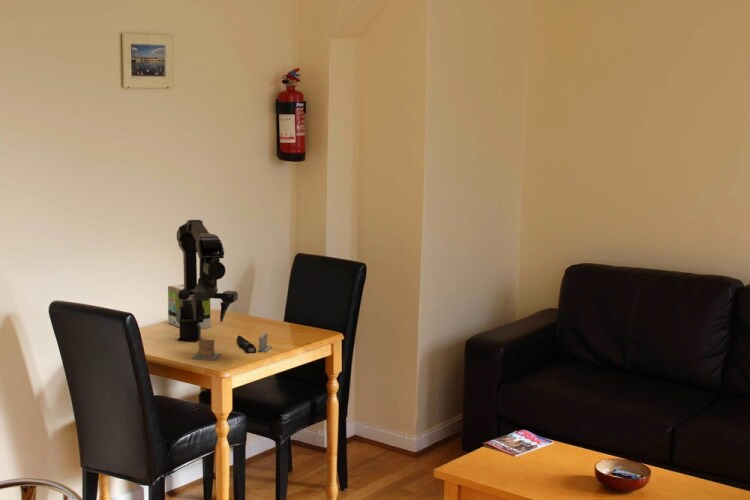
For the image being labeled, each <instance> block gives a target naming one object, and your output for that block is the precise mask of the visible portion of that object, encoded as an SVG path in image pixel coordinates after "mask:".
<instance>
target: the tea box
mask: <svg viewBox="0 0 750 500" xmlns="http://www.w3.org/2000/svg"><path fill="white" fill-rule="evenodd" d="M182 289H184V283H183V284H177V285H176V284H175V285H168V286H167V319H168V320H167V321H168V322H167V323H168V324H171V325H173V326H175V327H178V328H180V324H179V323H178V322H177V321H176V314H177V311H178V308H179V307H180V301H181V299H178V292H179V291H180V290H182ZM202 306H203V307H204V309H205V312H204V319H203V323H201V322H200V323H199V326H201V330H203V329H209V328H211V298H209V300H208V301H203V300H202Z"/></svg>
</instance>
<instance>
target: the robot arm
mask: <svg viewBox="0 0 750 500" xmlns="http://www.w3.org/2000/svg"><path fill="white" fill-rule="evenodd" d="M176 240H177V244H178V247H179V249H180V250H181V252H182V253H183V254H182V255H183V257H182V259H183V261H182V262H183V284H184V289H182V290H180V291H179V292H178V299H181V301H180V307H179V308H178V311H177V314H176V321H177V322H178V323H179V324H180V327H179V338H177V340H178V341H181V342H182V341H184V342H185V341H186V342H196V341H198V340H199V339H201V337H202V332H201V330H202V329H201V326H199V323H200V322H201V323H203V319H204V312H205V309H204V307H203V306H202V300H203V301H208V300H209V298H210V299H217V300H221V302H220V315H219V316H220V317H219V321H220V323H222V322H223V320H224V318H225V315H226V313H227V310H228V309H229V307H230V305H231V304H233V303H234V302H236V301H238V299H239V294H238V292H237V291H236V290H235V291H234V290H225V291H223V292H219V288H218V280H220V279H221V280H222V278H223V277H224V276H225V274H226V271H227V270H226V267H225V265H224V264H223V263H222V262H221V260H220V259H224V258H225V257H224V256H225V249H224V246H223V243H222V240H221V239H220V237H219V236H218V235H216V234H213V233H210V232H209V230H208V229H207V228H206V226H205V225H204V222H203V220H200V219H189V220H187V221H186V222H185V223H184V224H182V225H180V226H179V227H178V229H177V231H176ZM197 255H198V259H199V267H198V268H199V269H197V266H198V265H197V262H198V260H197ZM198 270H199V271H198ZM198 272H199V276H198Z"/></svg>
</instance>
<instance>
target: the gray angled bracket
mask: <svg viewBox="0 0 750 500" xmlns="http://www.w3.org/2000/svg"><path fill="white" fill-rule="evenodd" d="M258 338H259V339H258V350H257V353H268V351H270V350H271V349H272V345H271V346H270V345H268V332H264V333H262V334H261V335H260V336H259V337H258Z"/></svg>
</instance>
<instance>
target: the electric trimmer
mask: <svg viewBox="0 0 750 500" xmlns="http://www.w3.org/2000/svg"><path fill="white" fill-rule="evenodd" d="M236 343H237V344H238V346H239V348H243V350H245V353H246V354H249V353H251V354H257V348H256V346H255V345H254V344H253V343H251V342H250V341H249V340H248V339H246V338H244V337H243V336H242V335H238V336H237V337H236Z"/></svg>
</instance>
